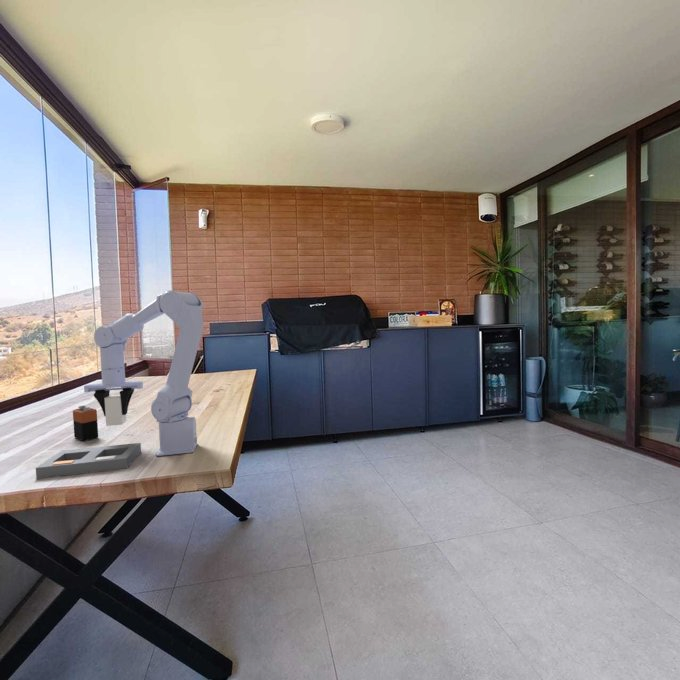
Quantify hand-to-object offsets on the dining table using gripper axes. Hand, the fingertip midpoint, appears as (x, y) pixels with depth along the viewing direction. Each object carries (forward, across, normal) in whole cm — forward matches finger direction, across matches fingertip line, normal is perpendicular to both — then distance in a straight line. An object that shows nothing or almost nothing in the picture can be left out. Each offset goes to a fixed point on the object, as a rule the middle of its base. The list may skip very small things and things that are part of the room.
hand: (115, 414), depth 105 cm
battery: (+10, -13, +13) cm, 21 cm away
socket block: (+9, -2, -13) cm, 16 cm away
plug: (+2, 0, 0) cm, 3 cm away
